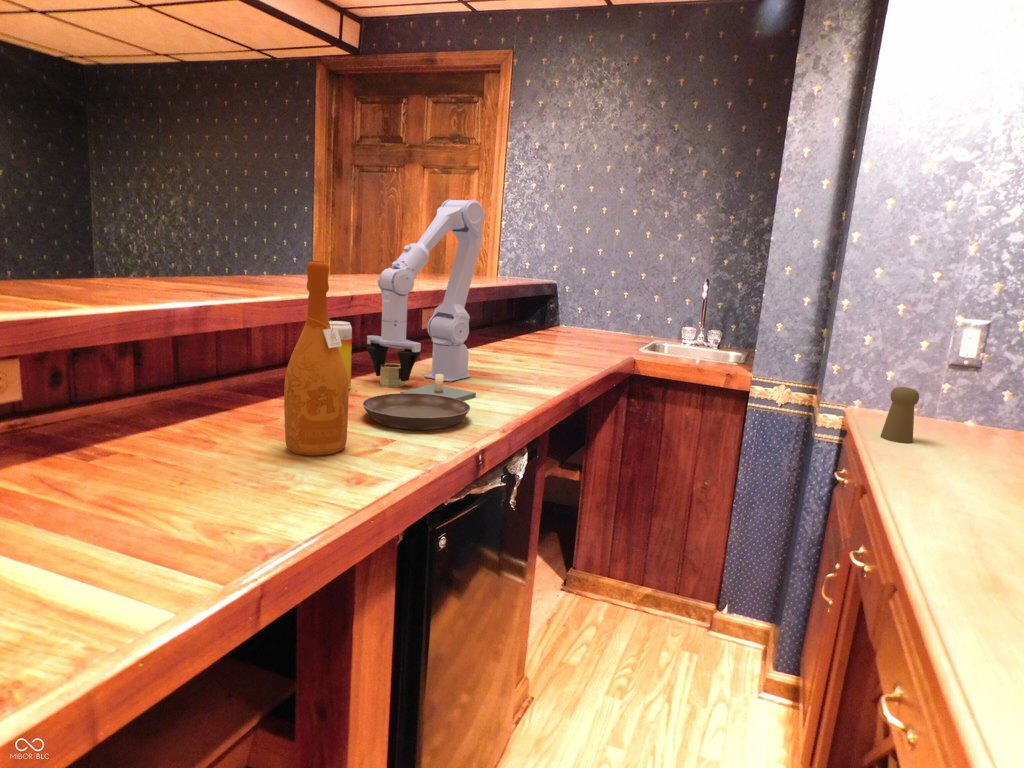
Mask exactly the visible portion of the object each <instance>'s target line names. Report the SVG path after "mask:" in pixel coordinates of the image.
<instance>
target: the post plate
mask: <svg viewBox="0 0 1024 768" xmlns="http://www.w3.org/2000/svg"><path fill="white" fill-rule="evenodd" d="M443 376H444V375H443V374H435V379H434V383H433V384H428V385H424V386H423V385H422V386H420V387H416V388H411V389H407V390H402V391H400V393H417V394H431V395H439V396H445V397H450V398H455V399H458V400H461V401H463V402H465V401H467V400H470V399H474V398H476V396H477V393H476V392H473V391H469V390H463V389H459V388H454V387H449V386H445V385H444V381H443Z"/></svg>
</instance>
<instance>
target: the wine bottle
mask: <svg viewBox="0 0 1024 768" xmlns="http://www.w3.org/2000/svg"><path fill="white" fill-rule="evenodd" d="M306 272H307V276H306V277H307V282H306V290H307V291H308V297H307V298H308V299H307V313H306V318H305V323H304V327H303V329H302V330H301V333H300V336H299V338H298V340H297V342H296V344H295V346H294V349H293V351H292V353H291V356H290V359H289V361H288V364H287V368H286V372H285V377H284V384H283V385H284V390H283V392H284V395H283V396H284V397H283V400H284V401H283V404H284V406H283V407H284V438H285V439H284V440H285V446H286V447H287V449H288V450H289V451H290V452H292V453H294V454H297V455H303V456H311V457H318V456H319V457H320V456H328V455H333V454H336V453H338V452H340V451H342V450H343V449H344V448H345V446H346V444H347V440H348V438H347V437H348V422H349V395H350V394H349V393H350V392H349V389H350V388H349V386H348V375H347V370H346V366H345V363H344V360H343V357H342V354H341V352H340V349H339V347H340V346H342V344H341V340H340V336H339V332H338V329H337V328H333V323H332V328H331V327H330V323H329V321H331V322H332V321H333V320H331V319H330V318H329V314H328V304H327V293H328V292H329V289H330V286H329V285H330V284H329V274H330V266H329V264H328V262H325V261H321V260H311V261H308V263H307V265H306Z"/></svg>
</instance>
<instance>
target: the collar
mask: <svg viewBox="0 0 1024 768" xmlns="http://www.w3.org/2000/svg"><path fill="white" fill-rule="evenodd" d="M405 382H406V381H401V366H400V363H385V364H381V365H380V376H379V385H380V386H381V385H382V386H381V387H386V386H387V387H386V388H401V387H405V385H406V383H405Z"/></svg>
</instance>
